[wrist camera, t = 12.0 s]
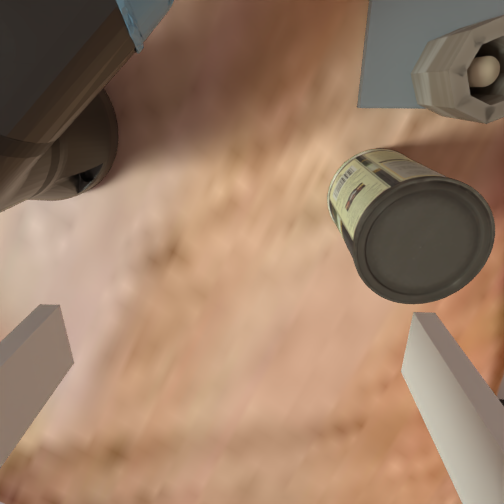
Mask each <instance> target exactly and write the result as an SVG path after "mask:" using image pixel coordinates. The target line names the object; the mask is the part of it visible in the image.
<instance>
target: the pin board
mask: <svg viewBox="0 0 504 504" xmlns="http://www.w3.org/2000/svg"><path fill="white" fill-rule="evenodd" d="M502 15H504V0H369V6H368V15H367V24H366V33H365V42H364V50H363V59H362V68H361V77H360V86H359V95H358V104H357V107H358V108H423V109H426V108H424V107H422V106H420V105H418V104H417V101H416V97H415V92H414V87H413V83H412V78H411V72H412V70H413V68H414V67H415V65H416V63H417V61H418V59H419V57H420V56H421V54H422V52H423V50H424V48H425V46H426V44H427V43H428V42H429V41H431V40H434V39H436V38H438V37H441V36H443V35H445V34H448V33H450V32H452V31H455V30H457V29H459V28H462V27H466V26H469V25H472V24H475V23H479V22H482V21H485V20H489V19H492V18H495V17H498V16H502ZM499 72H500V64H499V61H498V60H497V59H496V58H495V57H493V56H483V57H476V58H474V59H473V61H472V62H471V64H470V66H469V67H468V69H467V77H468V83H469V87H486V86H488V85H490V84H492V83H493V82H494V81H495V80H496V78H497V77H498V75H499Z"/></svg>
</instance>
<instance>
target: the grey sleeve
mask: <svg viewBox="0 0 504 504" xmlns="http://www.w3.org/2000/svg"><path fill="white" fill-rule="evenodd" d="M483 56H493V57H495V58H496V59H497V60H498V61H499V64H500V72H499V75H498V77H497V78H496V80H495V81H494V82H493V83H492V84H490V85H488V86H486V87H469V83H468V77H467V69H468V67H469V66H470V64H471V62H472V61H473V59H474V58H476V57H483ZM411 78H412V83H413V87H414V92H415V97H416V101H417V104H418V105H420V106H422V107H424V108H426V109H428V110H431V111H433V112H435V113H437V114H439V115H441V116H444V117H450V118H456V119H462V120H467V121H473V122H479V123H485V124H487V123H490V122H492V121H495V120H498V119H500V118H503V117H504V15H502V16H498V17H495V18H492V19H489V20H485V21H482V22H479V23H475V24H472V25H469V26H466V27H462V28H459V29H457V30H455V31H452V32H450V33H448V34H445V35H443V36H441V37H438V38H436V39H434V40H431V41H429V42H428V43H427V44H426V46H425V48H424V50H423V52H422V54H421V56H420V57H419V59H418V61H417V63H416V65H415V67H414V68H413V70H412V72H411Z"/></svg>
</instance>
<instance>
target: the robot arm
mask: <svg viewBox="0 0 504 504" xmlns="http://www.w3.org/2000/svg"><path fill="white" fill-rule="evenodd" d="M173 2H174V0H0V212H2V211H5V210H7V209H9V208H11V207H13V206H15V205H17V204H19V203H21V202H23V201H25V200H47V201H56V200H63V199H68V198H72V197H75V196H77V195H79V194H81V193H83V192H85V191H87V190H89V189H90V188H92V187H94V186H95V185H96V184H98V183H99V182H100V181H101V180H102V179H103V178H104V177H105V175H106V174H107V173H108V171H109V170H110V168H111V166H112V164H113V161H114V159H115V155H116V151H117V145H118V128H117V121H116V117H115V113H114V110H113V107H112V104H111V102H110V100H109V97H108V96H107V94H106V92H105V90H104V89H103V88H104V87H105V85H106V84H107V83H108V82H109V81H110V80H111V79H112V77H113V76H114V75H115V74H116V73H117V72H118V71H119V70H120V68H121V67H122V66H123V65H124V64H125V63H126V62H127V60H128V59H129V58H130V57H131V56H132V55H133V54H134V53H135V52H137V53H138V54H139V53H140V52H141V51H142V49H143V48H144V47H143V42H144V41H145V40H146V39H147V37H148V36H149V35H150V34H151V32H152V31H153V30H154V29H155V27H156V26H157V25H158V24H159V22H160V21H161V20H162V19H163V17H164V16H165V15H166V14H167V12H168V11H169V10H170V8H171V6H172V4H173ZM73 364H74V361H73V357H72V352H71V348H70V344H69V340H68V336H67V332H66V328H65V324H64V320H63V316H62V312H61V308H60V305H42V304H40V305H39V306H38V307H37V308H36V309H35V310H34V311H32V312H31V313H30V314H29V315H28V316H27V317H26V318H25V319H24V320H23V321H22V322H21V323H20V324H19V325H18V326H17V327H16V328H15V329H14V330H13V331H12V332H11V333H9V334H8V335H7V336H6V337H5V338H4V339H3V340H2V341H1V342H0V468H1V466H2V465H3V464H4V462H5V461H6V459H7V458H8V456H9V455H10V454H11V452H12V451H13V449H14V448H15V446H16V445H17V444H18V442H19V441H20V439H21V438H22V436H23V435H24V434H25V432H26V431H27V429H28V428H29V426H30V425H31V424H32V422H33V421H34V419H35V418H36V416H37V415H38V414H39V412H40V411H41V409H42V408H43V406H44V405H45V404H46V402H47V401H48V399H49V398H50V396H51V395H52V394H53V392H54V391H55V389H56V388H57V386H58V385H59V384H60V382H61V381H62V379H63V378H64V376H65V375H66V374H67V372H68V371H69V369H70V368H71V366H72V365H73ZM401 372H402V375H403V377H404V379H405V381H406V383H407V385H408V387H409V390H410V392H411V394H412V396H413V398H414V400H415V402H416V405H417V407H418V409H419V411H420V413H421V415H422V417H423V420H424V422H425V424H426V426H427V428H428V430H429V433H430V435H431V437H432V439H433V441H434V443H435V445H436V448H437V450H438V452H439V454H440V456H441V458H442V460H443V463H444V465H445V467H446V469H447V471H448V473H449V475H450V478H451V480H452V482H453V484H454V486H455V488H456V491H457V493H458V495H459V497H460V499H461V501H462V503H463V504H504V400H502V399H498V398H497V397H496V395H495V394H494V393H493V391H492V390H491V388H490V387H489V386H488V384H487V383H486V382H485V380H484V379H483V378H482V376H481V375H480V373H479V372H478V371H477V369H476V368H475V367H474V365H473V364H472V363H471V361H470V360H469V359H468V357H467V356H466V354H465V353H464V352H463V350H462V349H461V348H460V346H459V345H458V344H457V342H456V341H455V339H454V338H453V337H452V335H451V334H450V333H449V331H448V330H447V329H446V327H445V326H444V325H443V323H442V322H441V320H440V319H439V318H438V316H437V315H436V314H435V313H424V312H413V317H412V322H411V326H410V331H409V336H408V341H407V346H406V350H405V355H404V360H403V365H402V370H401Z"/></svg>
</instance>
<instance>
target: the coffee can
mask: <svg viewBox="0 0 504 504" xmlns="http://www.w3.org/2000/svg"><path fill="white" fill-rule="evenodd" d="M327 199H328V209H329V212H330V215H331V217H332V219H333V221H334V223H335V224H336V226H337V228H338V230H339V231H340V233H341V235H342V237H343V239H344V241H345V243H346V245H347V247H348V249H349V251H350V253H351V255H352V257H353V259H354V263H355V266H356V269H357V271H358V274H359V276H360V277H361V279H362V280H363V282H364V283H365V284H366V285H367V286H368V287H369V288H370V289H371V290H372V291H373V292H375V293H376V294H378V295H379V296H381V297H383V298H385V299H387V300H390V301H393V302H397V303H404V304H423V303H429V302H433V301H437V300H440V299H443V298H445V297H447V296H449V295H451V294H453V293H455V292H457V291H459V290H460V289H461V288H463V287H464V286H465V285H467V284H468V283H469V282H470V281H471V280H472V279H473V278H474V277H475V276H476V275H477V274H478V273H479V272H480V270H481V269H482V268H483V266H484V265H485V263H486V261H487V260H488V257H489V255H490V253H491V250H492V248H493V243H494V238H495V223H494V218H493V214H492V211H491V209H490V207H489V205H488V203H487V202H486V201H485V199H484V198H483V197H482V195H480V194H479V193H478V192H477V191H476V190H475V189H473V188H472V187H470V186H469V185H467V184H465V183H463V182H460V181H458V180H455V179H451V178H448V177H446V176H444V175H442V174H440V173H438V172H436V171H434V170H431V169H429V168H427V167H425V166H423V165H422V164H419V163H417V162H415V161H413V160H411V159H409V158H407V157H406V156H405V155H403V154H401V153H399V152H396V151H393V150H389V149H372V150H367V151H364V152H361V153H359V154H357V155H355V156H353V157H352V158H350V159H349V160H348V161H346V162H345V163H344V164H343V165H342V166H341V167H340V168H339V170H338V171H337V172H336V174H335V175H334V177H333V179H332V181H331V184H330V187H329V191H328V196H327Z"/></svg>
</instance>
